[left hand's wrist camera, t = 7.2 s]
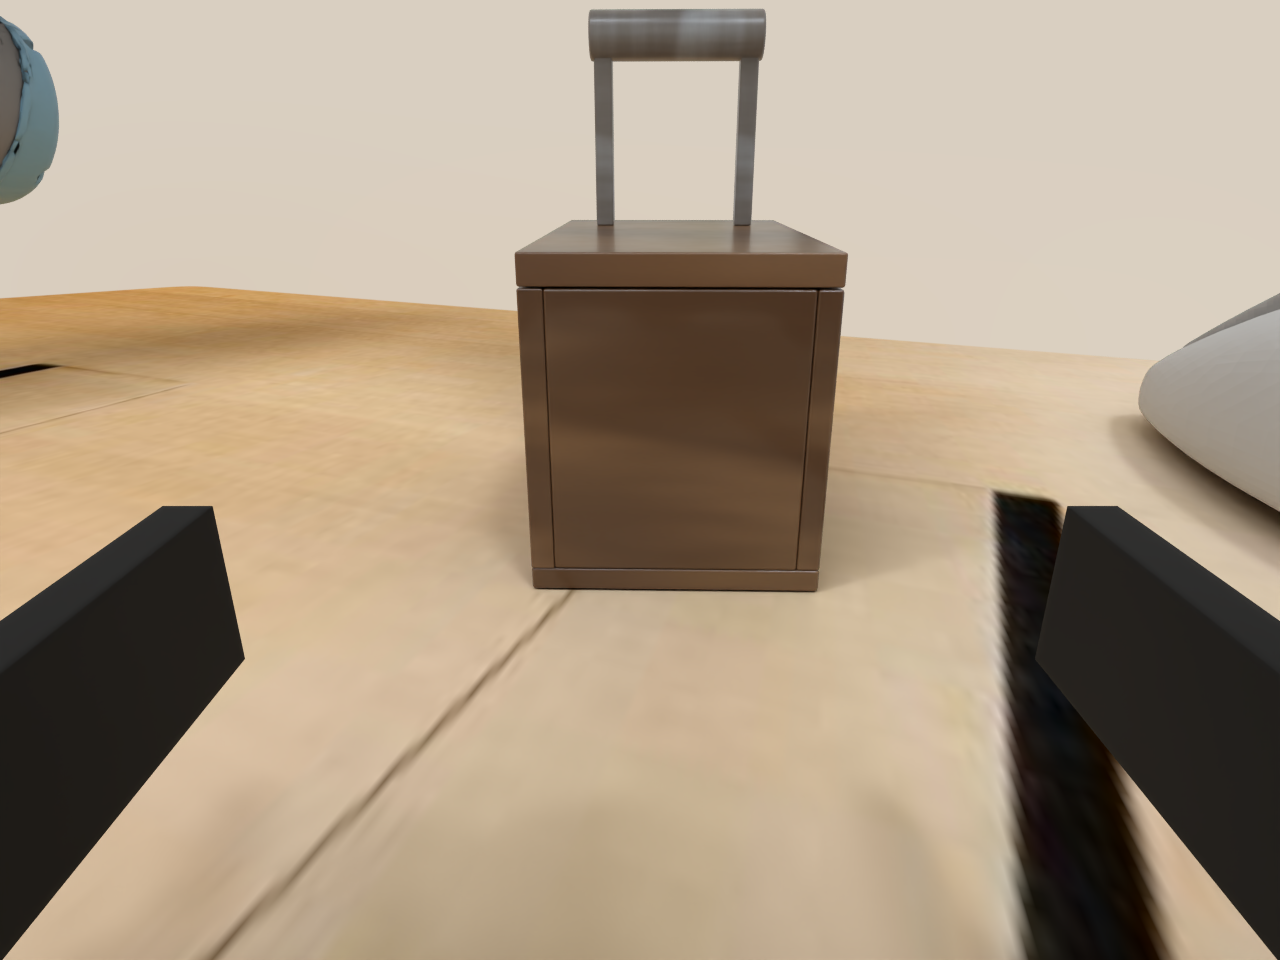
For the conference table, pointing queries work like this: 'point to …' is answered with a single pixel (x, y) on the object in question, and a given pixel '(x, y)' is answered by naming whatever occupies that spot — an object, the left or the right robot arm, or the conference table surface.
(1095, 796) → the conference table surface
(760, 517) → the chest
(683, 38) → the lid
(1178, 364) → the projector
